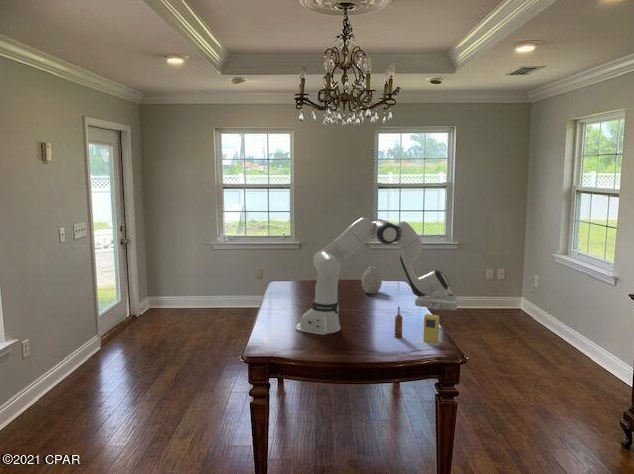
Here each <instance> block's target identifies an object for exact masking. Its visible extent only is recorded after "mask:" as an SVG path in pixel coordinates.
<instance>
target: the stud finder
mask: <svg viewBox="0 0 634 474" xmlns="http://www.w3.org/2000/svg"><path fill="white" fill-rule="evenodd" d="M423 319H424V320H423V340H422V341H423V343H431V344H438V342H439V339H440V338H439V337H440V336H439V334H440V333H439V332H440V331H439V330H440V315H438V314H430V313H426V314H425V315H424V318H423Z"/></svg>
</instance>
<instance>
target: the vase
mask: <svg viewBox="0 0 634 474" xmlns="http://www.w3.org/2000/svg"><path fill="white" fill-rule="evenodd" d="M382 281H383V279H382V275H381V273H380V272H379V271H378V270H377V268H376V267H375V266H368V269H366V270H365V272H364V273H363V275H362V277H361V286H362V288H363V289H364V291H365V292H366V294H370V295H373V294H375V295H376V294H377V293H378V292H379V291H380V289H381V287H382V283H383V282H382Z"/></svg>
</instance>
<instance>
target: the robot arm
mask: <svg viewBox="0 0 634 474" xmlns="http://www.w3.org/2000/svg"><path fill="white" fill-rule="evenodd" d="M369 239H374V240H375V241H377V242H379V243H381V244H383V245H390V244H393V243H396V244H397V245H398V247H399V249H400V253H401V254H400V255H399V259H400V263H401V266H402V269H403V271H404V274H405V275H406V278H407V280H408V283H409V286H410V289H411V292H412V293H413V295H415V296H416V298H415V299H414V300H415V301H414V305H415V306H416V307H421V308H429V309H430V310H450V311H457V310H458V298H457V295H455V294H453V293H452V290H451V289H452V288H451V287H450V285H449V281H448V278H447V276H446V275H445V274H444V273H443V272H442V271H440V270H437V269H435V270H432V271H430V272H428V273H426V274H424V275H421V276H417V275H416V273H415V270H414V267H413V266H412V264H413V262H414V261H415V260H416V259H417V258H418V257H419V255H420V254H421V253H422V251H423V242H422V240H421V238H420V236H419V234H417V232H416V231H415V229H414V228H413V227H412V225H410V224H409V223H408V222H407V221H403V220H402V221H399V222H397V223H395V224H394V223H391V222H390V221H388V220H386V219H380V218H377V219H373V220H370V218H367V217H360V218H358V219H357V220H356V221H354V222H353V223H352V224H350V225H349V226H348V227H347V228H346V229H345V230H344V231H343V232H341V234H340V235H339V236H337V237H336V238H335V239H334V240H332V242H330V243H329V244H327V245H326V246H325V247H323V248H322V249H321V250H319V251H317V252H316V253H315V254H314V255H313V260H312V261H313V262H312V263H313V266H314V268H315V269H316V271H317V274H316V276H317V277H316V282H315V283H316V284H315V288H314V289H315V295H314V296H315V298H314V299H313V300H312V302H311V304H310V306H311V308H310V309H308V310H307V311H306V312H304V313H303V314H302V316H301V317H300V322H299V323H297V324H296V326H295V330H296V331H297V332H302V333H303V332H304V333H310V334H314V335H321V336H325V335H328V334H333V333H334V334H335V333H337V332H339V331H340V330H341V329H342V328H341V325H340V324H341V323H340V320H339V308H340V307H339V300H338V295H339V294H338V286H339V279H340V273H341V269H342V267H341V266H342V265H341V262H342V261H344V260H345V259H347V258H349V257H351V256H353V255H354V253H356V252H357V250H359V248H361V247H362V246H363V245H364V244H365V243H366V241H368V240H369ZM430 293H432V294H431V295H430V296H427V295H429V294H430Z"/></svg>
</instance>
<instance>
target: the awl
mask: <svg viewBox="0 0 634 474" xmlns="http://www.w3.org/2000/svg"><path fill="white" fill-rule="evenodd" d="M400 310H401V308H400V306H397V314H396V315H395V316H394V338H395V339H402V338H403V316H402V314H400V313H401V312H400Z"/></svg>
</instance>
